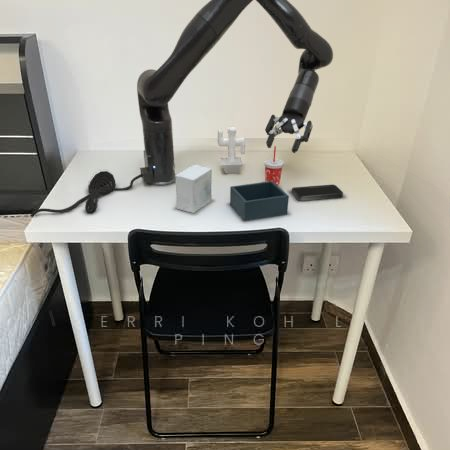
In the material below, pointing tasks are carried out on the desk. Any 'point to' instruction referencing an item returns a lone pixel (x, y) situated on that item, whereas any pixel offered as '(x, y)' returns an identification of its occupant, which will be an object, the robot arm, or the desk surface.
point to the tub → (258, 200)
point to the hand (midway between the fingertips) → (280, 149)
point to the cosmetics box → (193, 188)
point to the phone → (317, 192)
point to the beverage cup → (273, 169)
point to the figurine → (231, 151)
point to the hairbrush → (99, 180)
